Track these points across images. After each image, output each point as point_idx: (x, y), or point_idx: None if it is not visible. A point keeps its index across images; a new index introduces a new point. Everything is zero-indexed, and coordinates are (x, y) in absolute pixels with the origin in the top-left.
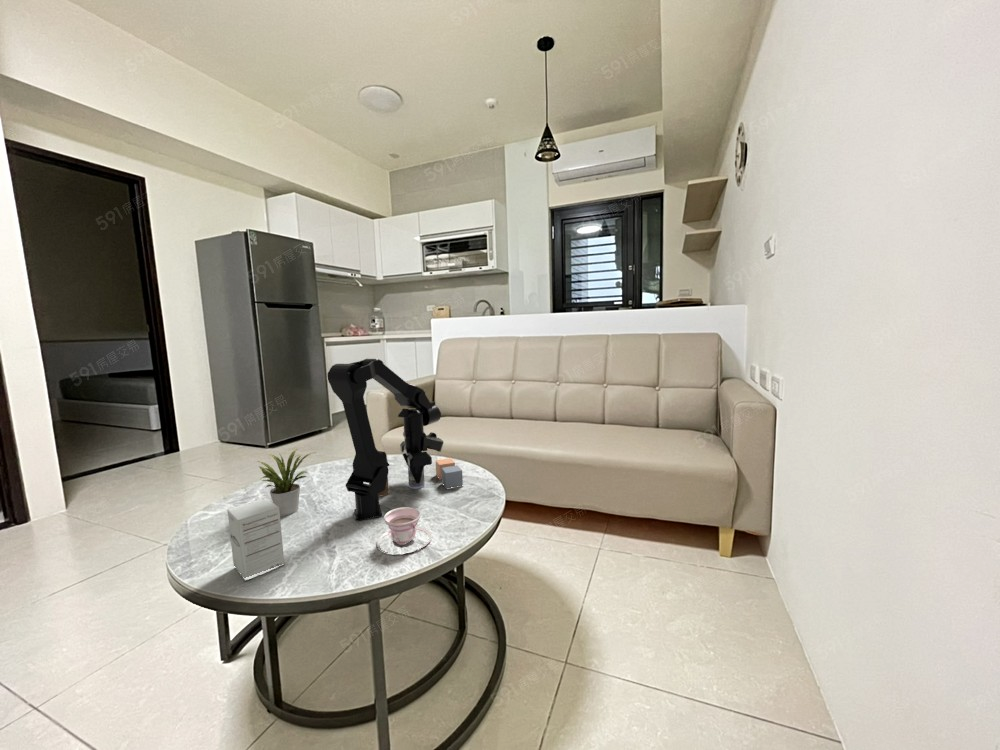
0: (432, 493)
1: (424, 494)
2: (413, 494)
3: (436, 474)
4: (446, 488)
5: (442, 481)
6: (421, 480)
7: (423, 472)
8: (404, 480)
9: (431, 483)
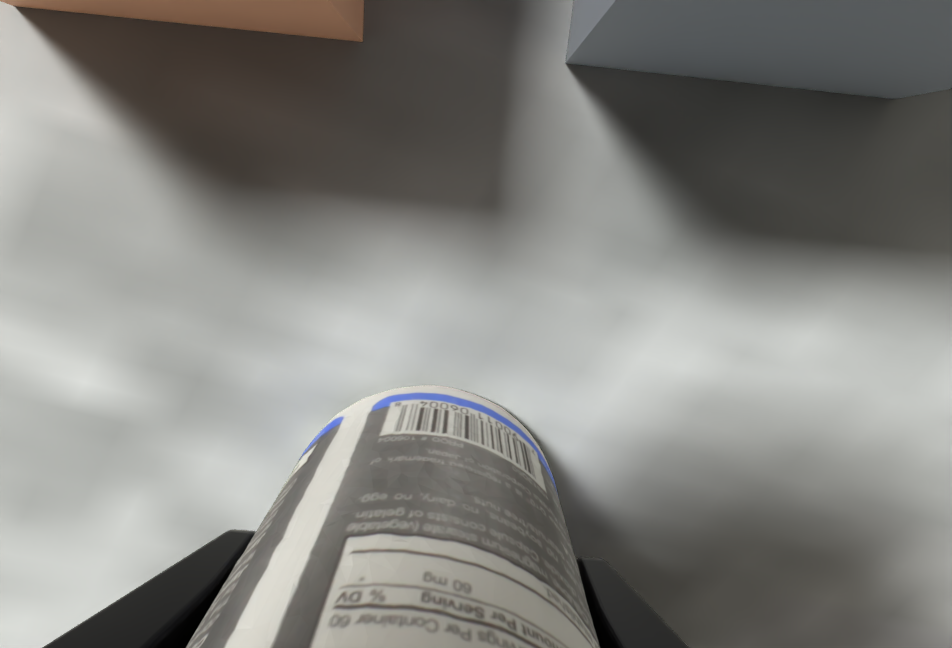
0: (874, 380)
1: (819, 489)
2: (710, 607)
3: (24, 2)
4: (901, 96)
5: (588, 53)
6: (564, 535)
7: (544, 603)
8: (99, 585)
9: (447, 258)
